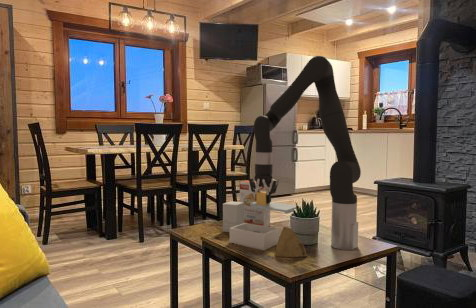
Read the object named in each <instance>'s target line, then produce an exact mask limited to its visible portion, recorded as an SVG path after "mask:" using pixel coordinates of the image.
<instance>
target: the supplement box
mask: <svg viewBox="0 0 476 308" xmlns="http://www.w3.org/2000/svg"><path fill="white" fill-rule="evenodd" d="M243 223H244V203H243V202H240V201H232V200H231V201H230V200H229V201H227V202H224V203H222V232H224V233H225V232H226V233H230V228H231V227H234V226H237V225H240V224H243Z"/></svg>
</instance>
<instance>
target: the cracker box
mask: <svg viewBox="0 0 476 308" xmlns="http://www.w3.org/2000/svg"><path fill="white" fill-rule="evenodd" d="M256 184H257V183H256V181H255V185H256ZM261 191H264V192H266V190H265V188H264V187H262V188H261ZM239 202H243V203H244V223H249V224H255V225H261V226H267V227H271V210H267V209H257V208H254V207H251V205H250V203H253V202H256V200H255V193H254V192H252V191H251V187H250V183H249V179H247V180H241V181H239Z"/></svg>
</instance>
